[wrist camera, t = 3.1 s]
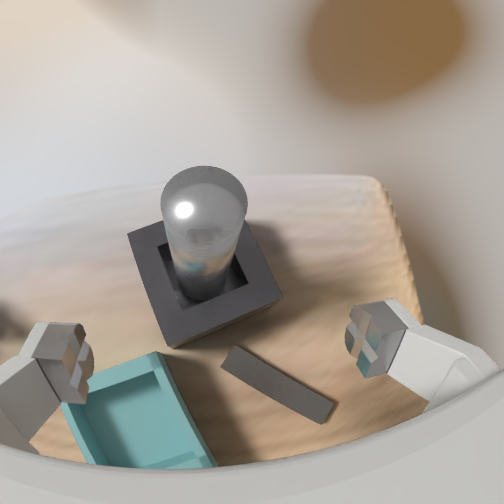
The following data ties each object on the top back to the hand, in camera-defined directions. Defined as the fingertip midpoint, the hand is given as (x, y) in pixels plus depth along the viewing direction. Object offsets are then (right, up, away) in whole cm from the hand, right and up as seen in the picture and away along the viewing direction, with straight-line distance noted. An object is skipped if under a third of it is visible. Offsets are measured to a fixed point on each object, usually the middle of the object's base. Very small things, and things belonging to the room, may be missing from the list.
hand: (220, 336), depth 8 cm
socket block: (-3, 0, +17) cm, 17 cm away
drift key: (+3, -9, +15) cm, 18 cm away
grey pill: (-3, 0, +16) cm, 16 cm away
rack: (-7, -15, +11) cm, 19 cm away
